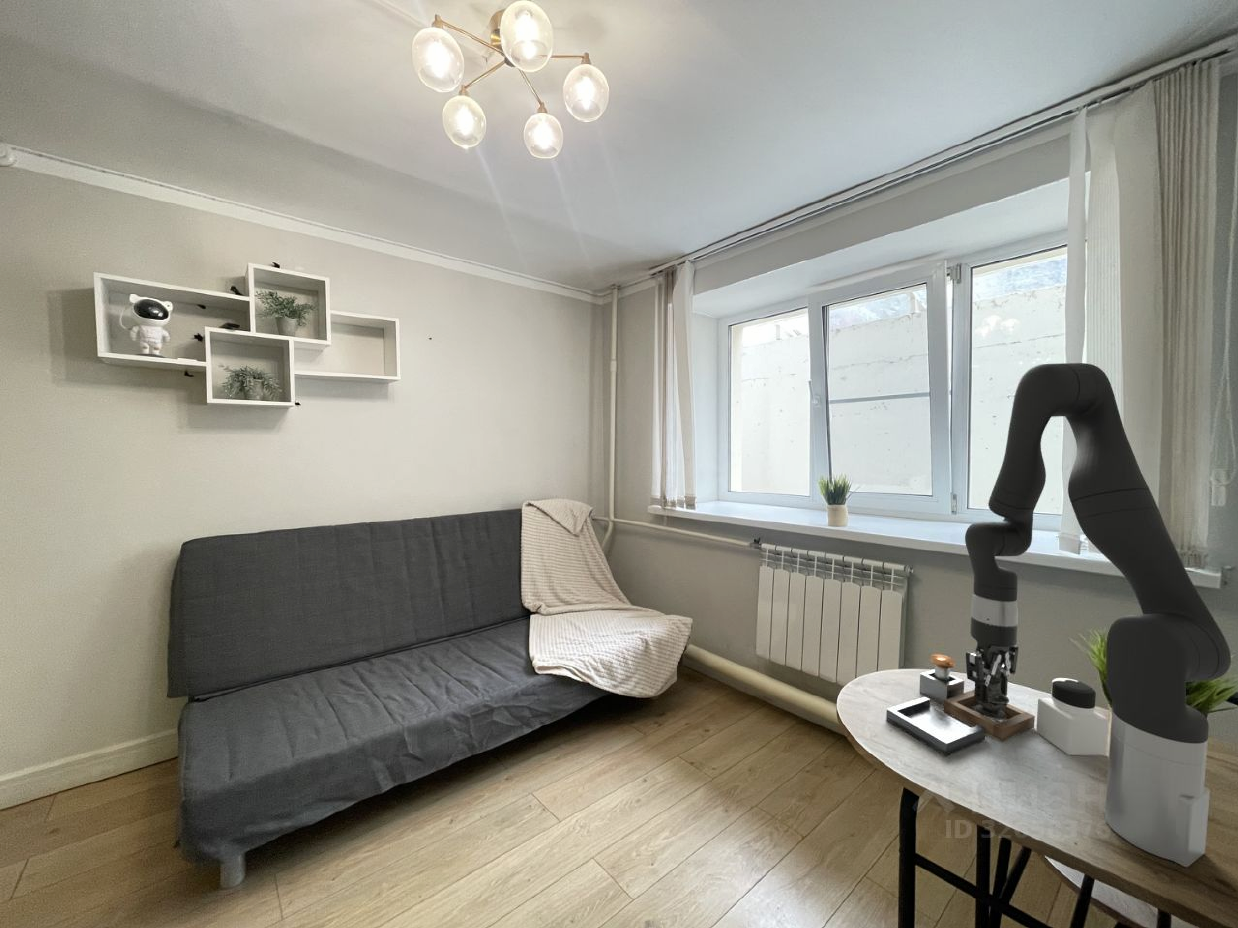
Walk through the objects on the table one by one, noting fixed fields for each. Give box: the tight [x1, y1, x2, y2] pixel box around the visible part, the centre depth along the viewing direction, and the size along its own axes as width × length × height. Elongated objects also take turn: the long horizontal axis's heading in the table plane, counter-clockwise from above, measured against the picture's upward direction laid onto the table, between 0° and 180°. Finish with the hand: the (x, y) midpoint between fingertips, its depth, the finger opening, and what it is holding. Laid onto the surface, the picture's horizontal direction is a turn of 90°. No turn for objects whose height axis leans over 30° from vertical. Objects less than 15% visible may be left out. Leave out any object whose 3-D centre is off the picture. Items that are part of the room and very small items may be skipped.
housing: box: [918, 668, 965, 706], centre depth 107 cm, size 6×6×4 cm
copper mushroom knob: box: [930, 653, 956, 683], centre depth 107 cm, size 4×4×7 cm
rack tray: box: [885, 696, 987, 757], centre depth 95 cm, size 12×12×2 cm
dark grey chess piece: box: [972, 664, 1010, 721], centre depth 98 cm, size 6×6×12 cm
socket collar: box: [943, 689, 1036, 742], centre depth 99 cm, size 11×11×2 cm
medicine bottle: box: [1035, 677, 1110, 756], centre depth 91 cm, size 7×7×12 cm
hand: (990, 697), depth 98 cm, fingers closed on dark grey chess piece, 6 cm apart
